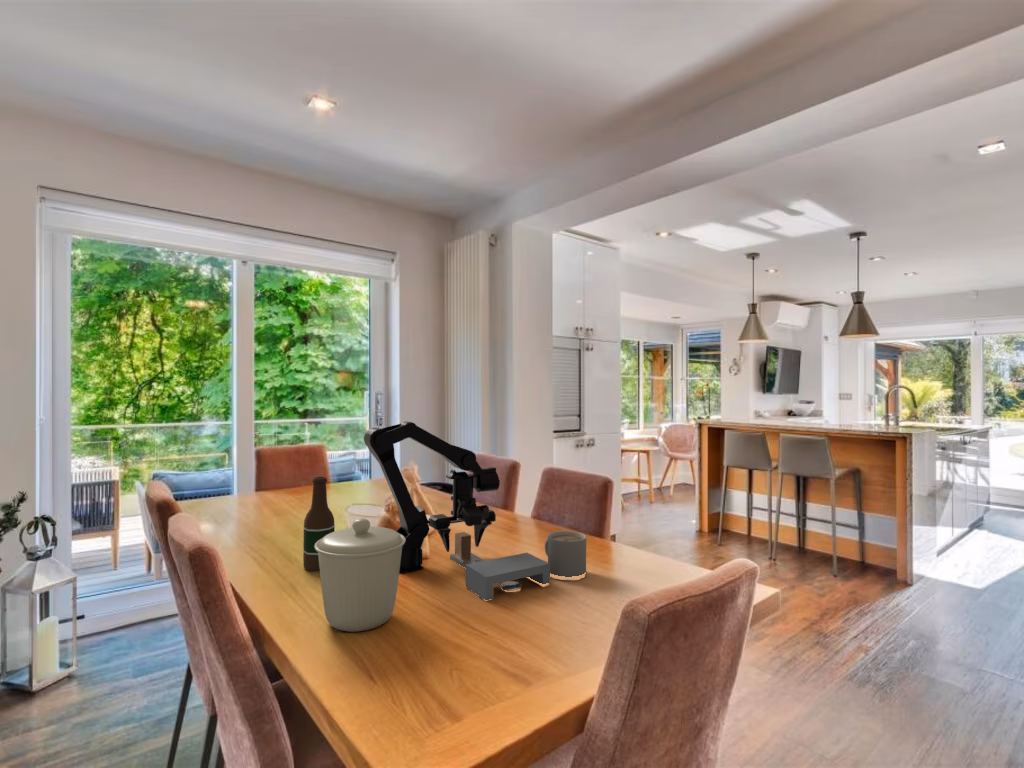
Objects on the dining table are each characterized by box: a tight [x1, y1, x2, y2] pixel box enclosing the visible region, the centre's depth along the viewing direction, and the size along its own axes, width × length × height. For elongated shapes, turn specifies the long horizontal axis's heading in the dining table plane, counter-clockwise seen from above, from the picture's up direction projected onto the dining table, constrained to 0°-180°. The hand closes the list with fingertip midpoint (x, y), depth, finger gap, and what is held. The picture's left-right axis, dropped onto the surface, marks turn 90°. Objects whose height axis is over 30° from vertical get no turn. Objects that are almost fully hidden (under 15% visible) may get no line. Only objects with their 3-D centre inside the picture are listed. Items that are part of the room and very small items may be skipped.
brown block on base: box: [449, 531, 486, 569], centre depth 142 cm, size 6×18×7 cm, turn 32°
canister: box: [315, 517, 406, 633], centre depth 109 cm, size 18×18×21 cm
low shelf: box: [464, 552, 551, 600], centre depth 128 cm, size 18×10×6 cm, turn 122°
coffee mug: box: [544, 530, 587, 577], centre depth 138 cm, size 13×10×10 cm
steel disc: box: [500, 580, 522, 591], centre depth 127 cm, size 5×5×1 cm
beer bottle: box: [302, 476, 336, 572], centre depth 141 cm, size 8×8×24 cm
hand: (462, 549), depth 148 cm, fingers open, 9 cm apart
